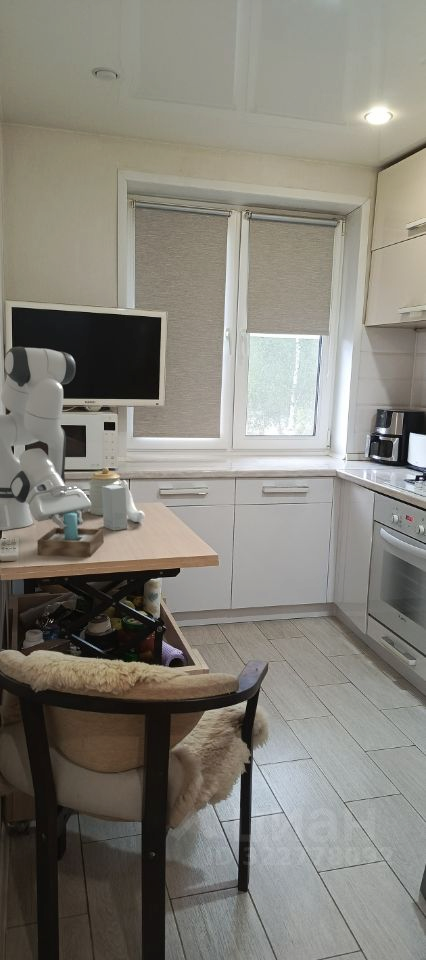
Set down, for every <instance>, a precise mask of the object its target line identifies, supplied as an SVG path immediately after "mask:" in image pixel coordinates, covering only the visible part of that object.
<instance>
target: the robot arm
mask: <svg viewBox="0 0 426 960" xmlns="http://www.w3.org/2000/svg"><path fill="white" fill-rule="evenodd" d="M4 370H5V371H4V372H5V373H6V378H5V381H4V385H3V388H2V391H1V396H0V398H1V399H0V400H1V403H2V405H3V406H4V408H6V409H7V410H8V411H10V412H9V413H8V414H0V531H7V530H11V529H12V530H13V529H20V528H25V527H29V526H31V525H33V524H34V521H33V519H34V520H35V521H36V522H43V521H48V520H52V522H53V523H55V524H56V525H57V526H59V528H61V529H65V528H66V527H67V524H66V522H65V521H64V520H62V519H61V518H64V514H66V513H76V514H77V526H82V525H83V524H84V520H83V518H82V514H83V513H86V512H88V511H90V510H89V509H90V507H91V502H90V500H89V496H87V495H86V493H85V492H84V491H83V490H82V489H80V488H79V487H77V486H71V487H67V485H66V477H65V471H66V470H65V468H66V451H67V450H66V449H67V440H66V439H67V437H66V432H65V430H64V429H63V427H62V426H61V419H62V414H63V406H64V388H63V385H67V384H69V383H70V382H72V380H73V379H74V377H75V375H76V361H75V359H74V357H73V356H72V355H71V354H69V353H67V352H64V351H57V350H54V349H49V348H43V347H42V348H37V347H23V346H14V347H10V348H9V350H8V351H7V352H6V354H5V357H4ZM37 442H42V443H44V444H47V446H48V451H47V452H48V454H47V453H46V451H44V450H43V449H42V448H40V447H32V448H29V449H27V450H25V451H23V452H22V453H20V454H19V456H16V455H15V454H14V452H13V450H12V447H14V446H15V447H16V446H27V445H28V446H29V445H31V444H34V443H37ZM32 517H33V518H32Z"/></svg>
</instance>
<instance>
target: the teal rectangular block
mask: <svg viewBox="0 0 426 960" xmlns="http://www.w3.org/2000/svg"><path fill="white" fill-rule="evenodd" d="M63 521H65V522H66V524H67V527H66V528H65V529H64V535H65V540H68V541H78V529H77V528H78V525H77V514H76V513H66V514H64V517H63Z"/></svg>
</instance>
